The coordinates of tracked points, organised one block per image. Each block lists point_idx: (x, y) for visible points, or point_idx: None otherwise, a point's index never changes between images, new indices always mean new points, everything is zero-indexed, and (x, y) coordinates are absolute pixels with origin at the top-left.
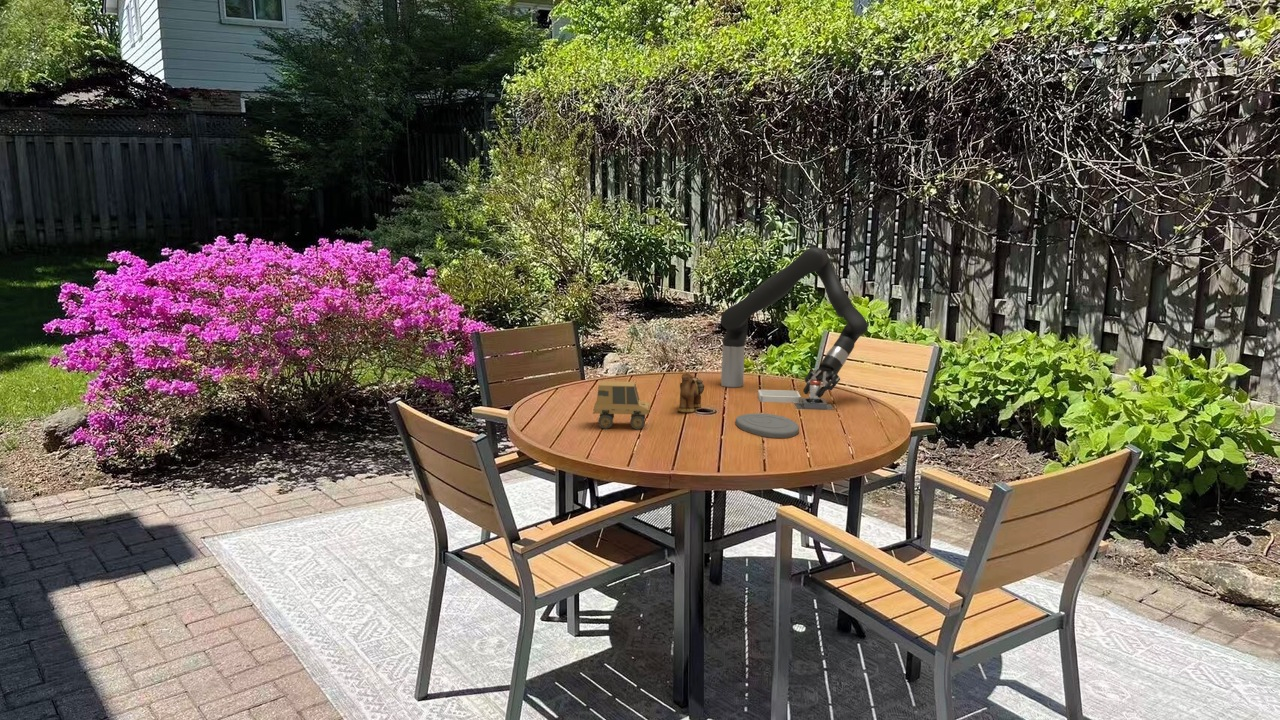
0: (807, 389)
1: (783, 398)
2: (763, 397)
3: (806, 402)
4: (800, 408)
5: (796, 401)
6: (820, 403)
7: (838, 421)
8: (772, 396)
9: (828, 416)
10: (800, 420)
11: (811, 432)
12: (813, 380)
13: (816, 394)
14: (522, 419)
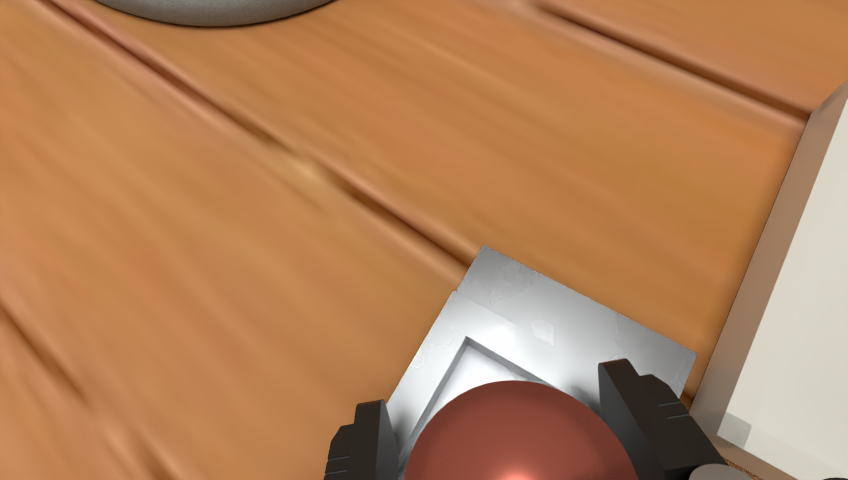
0: (621, 422)
1: (776, 258)
2: (843, 96)
3: (468, 325)
4: (480, 280)
5: (713, 387)
6: None
7: (69, 354)
8: (827, 158)
9: (215, 386)
10: (249, 123)
11: (34, 45)
12: (557, 476)
13: (383, 400)
14: None
